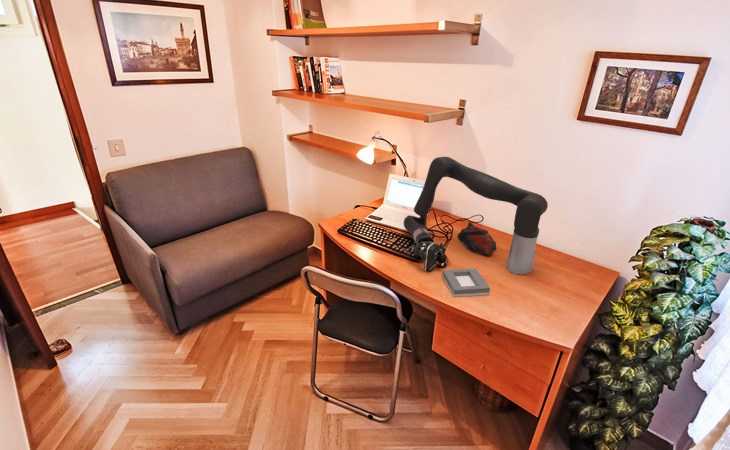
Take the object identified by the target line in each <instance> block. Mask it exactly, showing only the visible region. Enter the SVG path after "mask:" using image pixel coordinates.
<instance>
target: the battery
mask: <svg viewBox="0 0 730 450" xmlns="http://www.w3.org/2000/svg"><path fill="white" fill-rule="evenodd" d="M439 245H440V244H438V243H436V242H434V243H431V244H430V245H428V246H427V248H426V252H425V255H426V260H424V264H423V271H425V272H429V273H430V272H432V271H433V270H434V269H435V268H437V264H436V263H437V262H436V258H437V257H439V253H440V246H439Z"/></svg>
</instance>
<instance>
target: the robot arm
mask: <svg viewBox="0 0 730 450" xmlns="http://www.w3.org/2000/svg"><path fill="white" fill-rule="evenodd" d="M443 178H449V179H453V180H456V181H458V182H460V183H461V184H462V185H464V186H465V187H466V188H467V189H469V190H470V191H471V192H473V193H475V194H477V195H479V196H481V197H482V198H486V199H488V200H494V201H499V202H505V203H510V204H512V205H514V206H516V209H515V213H514V214H515V215H514V221H513V227H514V228H513V232H512V233H513V234H512V238H511V243H510V246H509V247H510V248H509V253H508V258H507V262H506V265H505V266H506V267H505V268H506V269H507V270H508V272H511V273H512V274H515V275H519V276H520V275H522V276H525V275H528V274H529V273H532V271H533V267H534V263H535V260H536V255H537V252H536V251H535V250H536V245H537V242H538V237H539V233H540V228H539V224H540V220H541V216H542V215H543V214H545V212H547V209H548V206H549V205H548V201H547V199H546V198H545V197H544V196H542V195H541V194H539V193H536V192H532V191H530V190H527V189H523V188H520V187H517V186H515V185H512V184H510V183H508V182H506V181H504V180H502V179H499V178H497V177H494V176H492V175H490V174H488V173H485V172H483V171H481V170H477V169H475V168H471V167H469V166H466V165H464V164H462V163H461V162H459V161H457V160H455V159H453V158H452V157H449V156H438V157H435V158H434V159H432V161H431V162H430V165H429V168H428V171H427V175H426V178H425V182H424V184H423V187H422V190H421V192H420V195H419V196H418V199H417V201H416V203H415V205H414V208H413V212H414V213H415V215H417V216H414V215H408V216H407V215H406V216H405V218H404V220H403V227H404V229H405V230H406V231H407V232H408V233H409V234H410V235H412V238H413V240H414V243H415V244H414V243H412V244H411V251H412V253H413V254H414V256H419V257H420V258H421V260H423V261H425V260H426V255H425V252H426V248H427V246H428V245H430V244H431V243H435V241H434V239H433V237H432V235H431V233H430V232H429V231H428V230H427V228H426V225H427V224H426V223H427V217H428V214H429V212H430V210H431V207H432V206H433V204H434V201H435V195H436V191H437V187H438V185H439V183H440V182H441V180H442V179H443ZM418 216H419V217H418ZM438 245H439V246H440V253H439V255H438V257H439V258H440V260H443V259H444V257H445V255H446V250H447V249H446V247H445V245H444V243H443V242H440V243H439V244H438Z"/></svg>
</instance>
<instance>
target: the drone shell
mask: <svg viewBox="0 0 730 450" xmlns="http://www.w3.org/2000/svg"><path fill="white" fill-rule="evenodd" d="M457 238H458V241H459V242H460V243H461V244H462V245H463V246H464V247H465V248H467V249H468V250H469V251H471V252H475V253H477V254H481V255H483V256H492V255H493V253H495V251H496V250H497V243H496V241H494V239H493V236H491V235H490V233H489V231H488V230H487V229H484V228H481V227H479V226H476V225H475V224H473V223H472V222H471V221H469V222H468V224H467V225H466V227H465V228H461V230H460V232H458V234H457Z"/></svg>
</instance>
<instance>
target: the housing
mask: <svg viewBox="0 0 730 450" xmlns="http://www.w3.org/2000/svg"><path fill="white" fill-rule="evenodd" d="M441 276H442V279H443V280H444V282H445V284H446V286H447V287H448V289H449V291H450V293H451V295H452V296H453V297H455V298H456V297H457V298H458V297H469V296H470V297H471V296H486V295H488V296H489V295H490V291H491V287H490V286H489V284H488V283H487V282H486V280H485V279H484V277H483V276H482V275H481V273H480V272H479V271H478V269H477V267H476V268H473V267H472V268H457V269H456V268H455V269H454V268H453V269H442V274H441Z"/></svg>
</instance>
